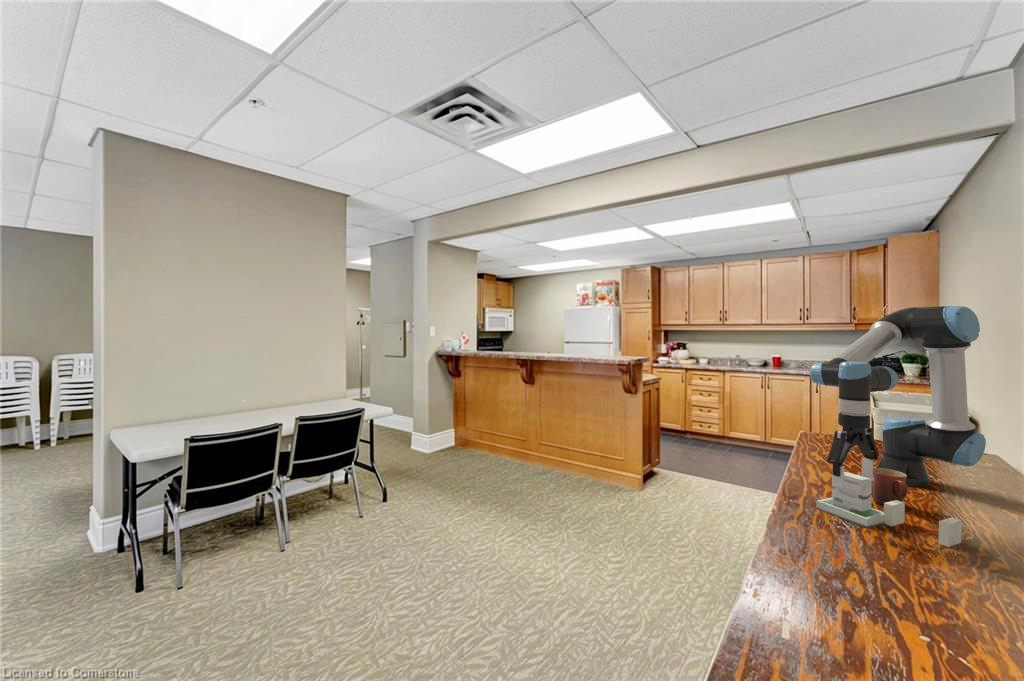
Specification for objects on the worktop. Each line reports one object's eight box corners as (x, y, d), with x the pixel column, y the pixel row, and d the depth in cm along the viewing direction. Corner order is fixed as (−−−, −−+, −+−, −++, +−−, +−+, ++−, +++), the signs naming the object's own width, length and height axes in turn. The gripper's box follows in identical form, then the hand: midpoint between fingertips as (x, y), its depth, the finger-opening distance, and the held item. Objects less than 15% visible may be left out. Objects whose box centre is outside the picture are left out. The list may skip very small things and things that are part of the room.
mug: (864, 497, 144) (865, 467, 144) (894, 499, 142) (895, 469, 142) (887, 512, 132) (888, 479, 132) (920, 515, 131) (922, 481, 130)
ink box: (872, 518, 127) (873, 478, 127) (862, 520, 125) (863, 480, 125) (840, 506, 135) (841, 469, 135) (830, 509, 133) (831, 471, 133)
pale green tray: (837, 504, 138) (837, 496, 138) (888, 522, 125) (888, 513, 125) (816, 508, 135) (816, 500, 135) (866, 528, 122) (867, 519, 122)
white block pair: (895, 520, 127) (896, 500, 127) (961, 542, 114) (961, 520, 113) (883, 523, 125) (884, 502, 125) (948, 547, 111) (949, 524, 111)
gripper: (865, 407, 137) (864, 473, 138) (813, 414, 128) (812, 485, 129) (894, 411, 130) (892, 481, 131) (840, 419, 121) (839, 494, 122)
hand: (852, 483), depth 130 cm, fingers open, 13 cm apart
